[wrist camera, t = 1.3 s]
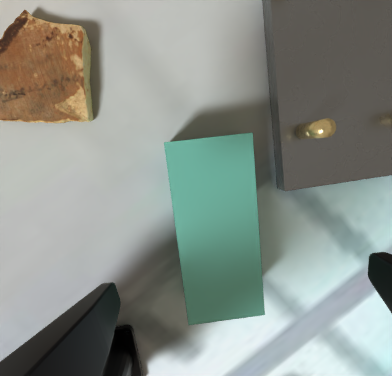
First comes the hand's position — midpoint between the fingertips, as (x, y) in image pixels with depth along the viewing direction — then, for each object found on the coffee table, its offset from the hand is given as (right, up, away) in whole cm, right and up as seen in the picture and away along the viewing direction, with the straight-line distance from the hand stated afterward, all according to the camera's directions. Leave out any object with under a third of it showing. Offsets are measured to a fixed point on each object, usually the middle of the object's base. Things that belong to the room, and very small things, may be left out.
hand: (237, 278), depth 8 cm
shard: (-14, +10, +10) cm, 20 cm away
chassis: (+10, +14, +10) cm, 20 cm away
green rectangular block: (0, 0, +12) cm, 12 cm away
